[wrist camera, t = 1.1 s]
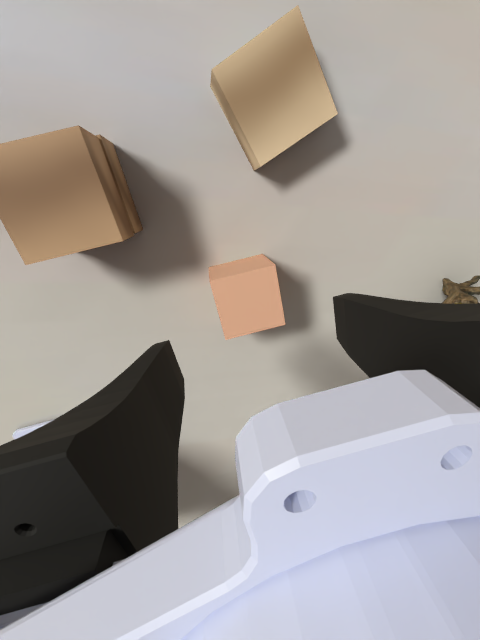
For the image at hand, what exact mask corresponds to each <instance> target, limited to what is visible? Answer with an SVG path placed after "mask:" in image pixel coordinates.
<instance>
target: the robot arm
mask: <svg viewBox="0 0 480 640" xmlns="http://www.w3.org/2000/svg"><path fill="white" fill-rule="evenodd" d="M333 303H334V313H335V324H336V334H337V339H338V341H339V342H340V344H341V345H342V347H343V348H344V350H345V351H346V353H347V354H348V355H349V356H350V357H351V359H352V360H353V361H354V362H355V363H356V364H357V365H358V366H359V367H360V368H361V369H362V370H363V371H364V372H365V373H366V374H367V375H368V377H369V379H366V380H362V381H358V382H355V383H351V384H347V385H344V386H340V387H336V388H332V389H329V390H325V391H321V392H318V393H314V394H310V395H307V396H303V397H299V398H296V399H292V400H288V401H284V402H281V403H277V404H275V405H273V406H271V407H269V408H267V409H265V410H263V411H262V412H260V413H258V414H256V415H254V416H252V417H251V418H250V419H249V420H248V422H247V423H246V424H245V426H244V427H243V428H242V430H241V431H240V432H239V434H238V435H237V436H236V447H235V461H236V469H237V477H238V485H239V493H240V494H239V495H237V496H236V497H234V498H232V499H230V500H228V501H227V502H225V503H223V504H221V505H220V506H218V507H216V508H214V509H213V510H211V511H209V512H207V513H205V514H204V515H202V516H200V517H198V518H197V519H195V520H193V521H191V522H190V523H188V524H186V525H184V526H182V527H181V528H179V529H178V484H177V478H178V448H179V439H180V431H181V424H182V416H183V408H184V399H185V393H184V378H183V375H182V373H181V370H180V367H179V365H178V362H177V360H176V357H175V354H174V352H173V349H172V346H171V344H170V341H169V340H168V341H164V342H161V343H157V344H154V345H153V346H151V347H150V348H149V349H148V350H147V351H146V352H145V353H143V354H142V355H141V356H140V357H139V358H138V359H137V360H136V361H135V362H134V363H133V364H132V365H131V366H130V367H128V368H127V369H126V370H125V371H124V372H123V373H121V374H120V375H119V376H118V377H117V378H116V379H115V380H113V381H112V382H111V383H110V384H108V385H107V386H106V387H105V388H103V389H102V390H101V391H99V392H98V393H96V394H95V395H94V396H92V397H91V398H89V399H88V400H86V401H85V402H83V403H81V404H80V405H78V406H77V407H75V408H73V409H72V410H70V411H69V412H67V413H65V414H64V415H62V416H60V417H58V418H57V419H54V420H51V421H47V422H43V423H39V424H35V425H31V426H28V427H24V428H20V429H17V430H16V431H15V432H14V433H13V438H14V439H15V440H12V441H10V442H8V443H6V444H3V445H1V446H0V640H480V303H473V304H444V303H424V302H413V301H404V300H396V299H389V298H382V297H376V296H369V295H363V294H353V293H347V294H343V295H339V296H335V297H333Z"/></svg>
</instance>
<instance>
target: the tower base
mask: <svg viewBox="0 0 480 640" xmlns="http://www.w3.org/2000/svg"><path fill="white" fill-rule="evenodd" d="M96 137H98V138H99V141H100V144H101V146H102V149H103V152H104V155H105V157H106V160H107V163H108V166H109V168H110V171H111V174H112V176H113V179H114V182H115V185H116V187H117V190H118V193H119V196H120V198H121V201H122V204H123V206H124V209H125V212H126V215H127V217H128V220H129V223H130V226H131V228H132V231H133V234H134V233H137V232H139V231H141V230H143V228H142V225H141V222H140V219H139V217H138V214H137V211H136V208H135V205H134V202H133V199H132V197H131V194H130V191H129V188H128V185H127V182H126V180H125V177H124V174H123V171H122V168H121V165H120V162H119V160H118V157H117V154H116V151H115V148H114V145H113V143H111V142H110V141H108V140H107V139H105V138H104V137H102V136H101V135H96Z"/></svg>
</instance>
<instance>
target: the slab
mask: <svg viewBox="0 0 480 640" xmlns="http://www.w3.org/2000/svg"><path fill="white" fill-rule="evenodd" d="M210 87H211V89H212V91H213V93H214V95H215V96H216V98H217V100H218V102H219V104H220V106H221V108H222V110H223V112H224V114H225V116H226V118H227V120H228V122H229V123H230V125H231V127H232V129H233V131H234V133H235V135H236V137H237V139H238V141H239V143H240V145H241V147H242V149H243V150H244V152H245V154H246V156H247V158H248V160H249V162H250V164H251V166H252V168H253V170H256V169H258V168H259V167H261V166H262V165H264V164H265V163H267V162H268V161H270V160H271V159H273V158H274V157H276V156H277V155H279V154H280V153H281V152H283V151H284V150H286V149H287V148H289V147H290V146H292V145H293V144H295V143H296V142H297V141H299V140H300V139H302V138H303V137H305V136H306V135H308V134H309V133H311V132H312V131H314V130H315V129H316V128H318V127H319V126H321V125H322V124H324V123H325V122H327V121H328V120H330V119H331V118H333V117H334V116H335V115H337V114H338V113H337V110H336V108H335V105H334V102H333V99H332V97H331V94H330V91H329V88H328V86H327V83H326V80H325V77H324V75H323V72H322V69H321V67H320V64H319V61H318V58H317V56H316V53H315V50H314V47H313V45H312V42H311V39H310V37H309V34H308V31H307V28H306V26H305V23H304V20H303V17H302V15H301V12H300V9H299V6H296V7H295V8H294V9H292V10H291V11H290V12H288V13H287V14H285V15H284V16H283V17H281V18H280V19H279V20H277V21H276V22H275V23H273V24H272V25H271V26H269V27H268V28H267V29H265V30H264V31H263V32H261V33H260V34H259V35H257V36H256V37H255V38H253V39H252V40H251V41H249V42H248V43H247V44H245V45H244V46H242V47H241V48H240V49H238V50H237V51H236V52H234V53H233V54H232V55H230V56H229V57H228V58H226V59H225V60H224V61H222V62H221V63H220V64H218V65H217V66H216V67H214V68H213V69H212V71H211V84H210Z"/></svg>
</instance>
